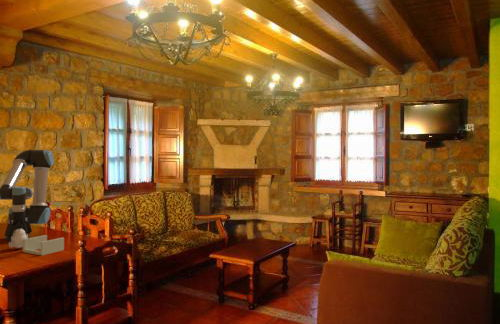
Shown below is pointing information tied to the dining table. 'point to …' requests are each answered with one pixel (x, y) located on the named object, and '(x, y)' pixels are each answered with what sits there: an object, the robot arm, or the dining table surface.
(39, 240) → the beige open frame
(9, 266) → the dining table surface
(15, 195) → the robot arm
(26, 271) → the dining table surface
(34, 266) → the dining table surface
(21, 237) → the figurine
